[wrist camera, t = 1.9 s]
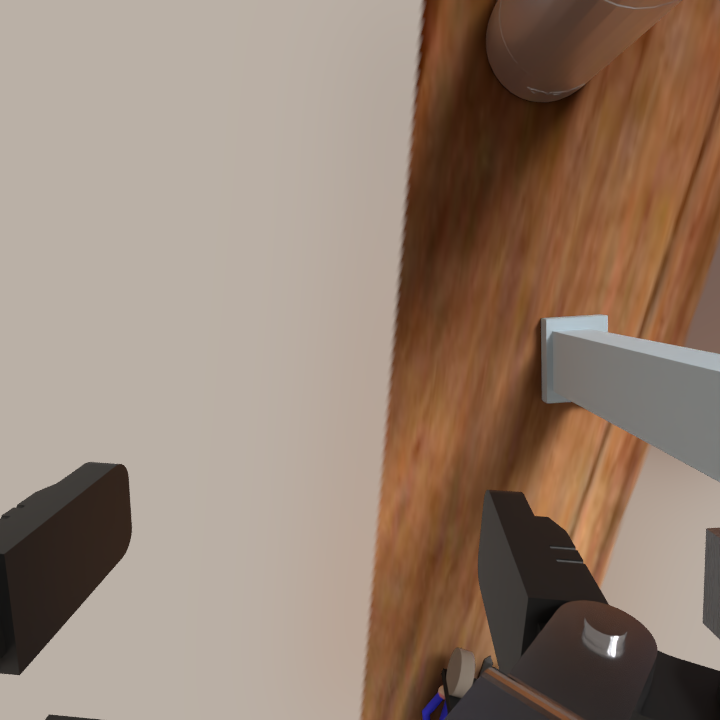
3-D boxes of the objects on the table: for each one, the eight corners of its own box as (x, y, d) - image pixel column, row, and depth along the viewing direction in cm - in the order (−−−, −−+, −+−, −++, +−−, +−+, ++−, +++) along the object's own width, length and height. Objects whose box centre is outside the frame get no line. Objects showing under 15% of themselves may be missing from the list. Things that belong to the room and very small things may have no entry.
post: (541, 318, 43) (1040, 412, 12) (600, 314, 43) (1260, 398, 12) (541, 400, 44) (1004, 689, 13) (600, 396, 44) (1207, 676, 13)
